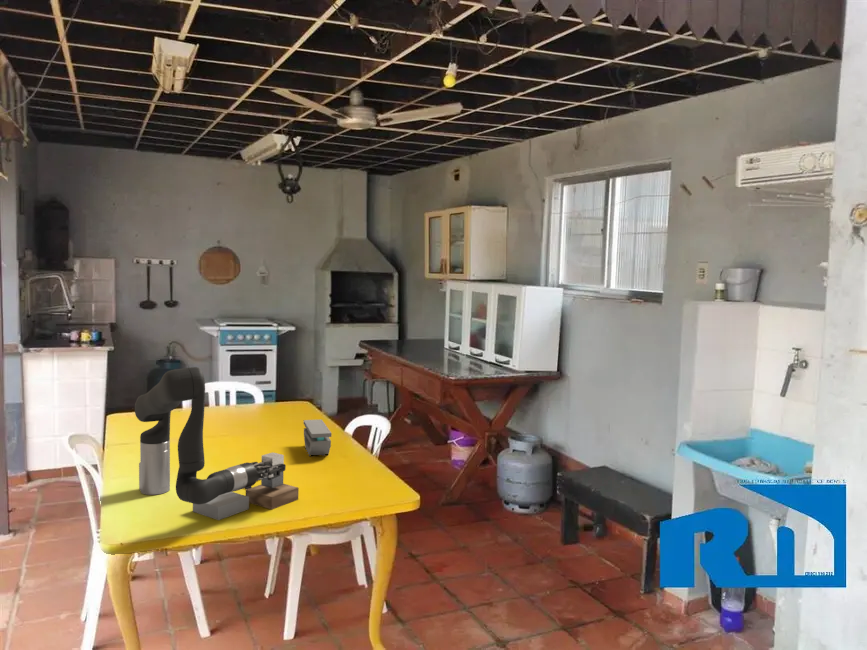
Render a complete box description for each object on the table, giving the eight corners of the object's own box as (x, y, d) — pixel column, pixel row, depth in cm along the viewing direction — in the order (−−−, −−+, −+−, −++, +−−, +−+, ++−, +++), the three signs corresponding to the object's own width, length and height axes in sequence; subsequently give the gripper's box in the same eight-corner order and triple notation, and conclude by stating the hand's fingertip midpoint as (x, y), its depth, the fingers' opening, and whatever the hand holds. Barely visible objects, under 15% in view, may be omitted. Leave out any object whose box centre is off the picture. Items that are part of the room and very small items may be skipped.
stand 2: (245, 501, 223) (245, 489, 223) (272, 492, 233) (272, 480, 233) (271, 509, 217) (271, 497, 216) (298, 499, 227) (298, 487, 226)
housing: (260, 485, 223) (260, 455, 223) (272, 481, 228) (272, 452, 227) (272, 488, 221) (272, 458, 220) (284, 484, 225) (284, 454, 224)
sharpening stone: (331, 459, 274) (331, 433, 273) (311, 460, 272) (311, 434, 271) (321, 443, 298) (321, 419, 297) (303, 444, 295) (303, 420, 295)
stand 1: (192, 511, 213) (192, 499, 212) (223, 501, 223) (223, 489, 223) (218, 520, 206) (218, 507, 206) (248, 509, 216) (248, 496, 216)
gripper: (254, 469, 208) (294, 458, 222) (223, 461, 215) (263, 450, 230) (254, 493, 208) (293, 480, 222) (222, 484, 216) (262, 472, 230)
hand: (278, 465), depth 226 cm, fingers closed on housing, 5 cm apart
